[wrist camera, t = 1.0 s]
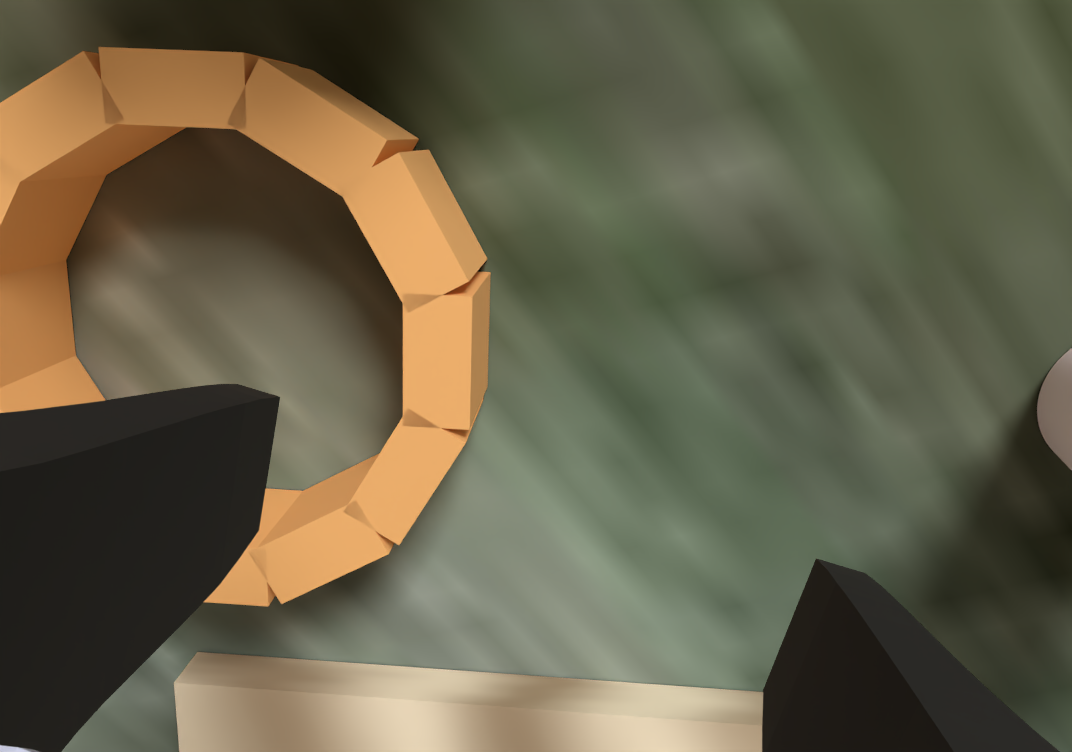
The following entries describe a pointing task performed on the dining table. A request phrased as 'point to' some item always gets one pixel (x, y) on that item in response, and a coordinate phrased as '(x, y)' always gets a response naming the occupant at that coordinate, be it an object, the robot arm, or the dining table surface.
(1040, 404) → the smoothie
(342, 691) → the peg board
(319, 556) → the faceted orange ring
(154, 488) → the robot arm
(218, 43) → the dining table surface
